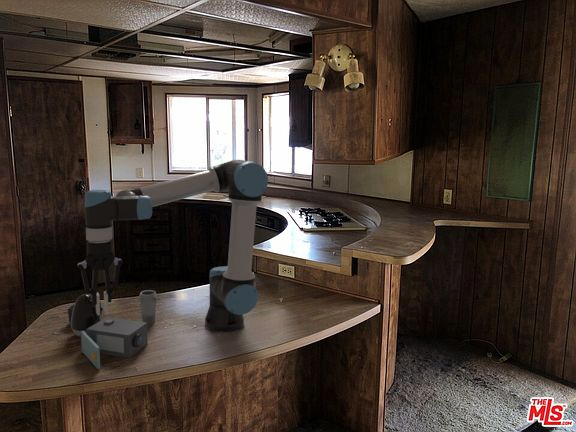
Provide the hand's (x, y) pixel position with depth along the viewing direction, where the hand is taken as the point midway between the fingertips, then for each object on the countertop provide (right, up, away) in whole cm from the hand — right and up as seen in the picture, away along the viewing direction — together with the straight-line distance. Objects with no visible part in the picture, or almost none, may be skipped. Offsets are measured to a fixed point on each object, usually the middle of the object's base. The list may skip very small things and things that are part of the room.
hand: (102, 312), depth 144 cm
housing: (0, -15, +12) cm, 19 cm away
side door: (-5, -16, +3) cm, 17 cm away
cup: (+4, -11, +35) cm, 37 cm away
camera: (-20, -11, +35) cm, 41 cm away
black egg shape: (-15, -13, +22) cm, 29 cm away
